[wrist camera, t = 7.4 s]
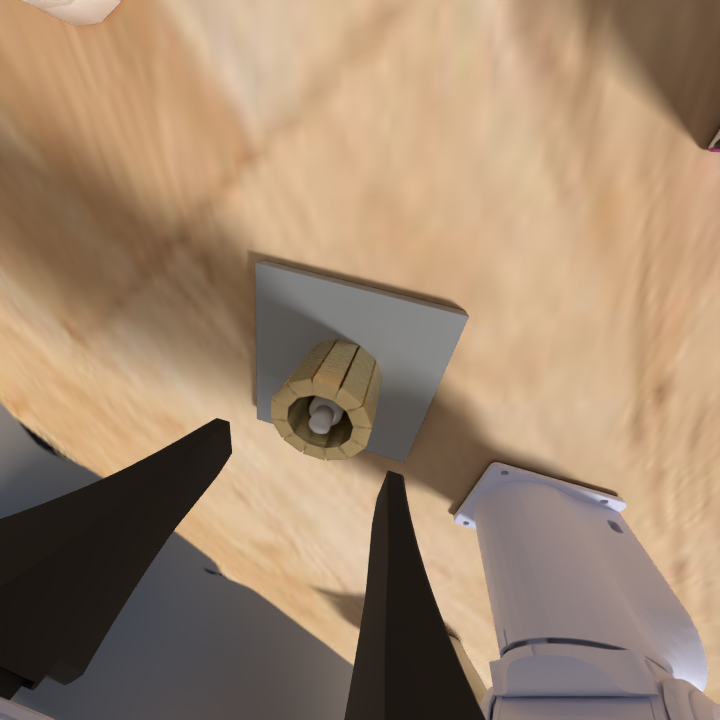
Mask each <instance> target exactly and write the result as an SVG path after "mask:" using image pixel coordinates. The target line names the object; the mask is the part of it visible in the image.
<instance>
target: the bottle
mask: <svg viewBox="0 0 720 720" xmlns="http://www.w3.org/2000/svg"><path fill="white" fill-rule="evenodd" d="M21 1H23V2H26V3H28V4H30V5H32V6H34V7H36V8H37V9H39V10H41V11H43V12H45V13H46V14H48V15H51V16H53V17H55V18H58V19H60V20H62V21H65V22H67V23H69V24H72V25H74V26H76V27H77V26H83V25H90V24H96V23H101V22H102V21H103V20H104V19H105V18H106V17H107V16H108V15H109V14H110V13H111V12H112V11H113V10H114V8H115V7H116V6H117V5H118V4H119V3H120V1H121V0H21Z"/></svg>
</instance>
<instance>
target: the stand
mask: <svg viewBox="0 0 720 720" xmlns="http://www.w3.org/2000/svg"><path fill="white" fill-rule="evenodd" d="M255 303H256V378H257V419H259V420H262V421H265V422H269V423H272V424H273V422H272V419H273V418H271V400H272V399H273V396H274V395H275V394H276V393H277V391H278V390H279V389H280V388H281V386H282V385H283V384H284V383H285V381H286V380H287V379H288V378H289V376H290V375H291V374H292V373H293V371H294V370H295V369H296V368H297V366H298V365H299V364H300V363H301V361H302V360H303V359H304V358H305V356H306V355H307V354H308V353H309V352H310V351H311V350H312V349H313V348H314V347H315V346H316V344H318V343H322V342H326V341H330V340H334V339H337V341H338V340H339V339H341V340H344V341H348V342H352V343H355V344H358V348H359V347H360V346H362V347H363V348H364V349H365V350H366V351H367V352H368V353H370V354H371V355H372V356H373V357H374V358H375V361H377V363H378V366H379V369H380V372H381V375H382V384H381V388H380V393H379V398H378V402H377V407H376V412H375V416H374V421H373V426H372V430H371V433H370V436H369V440H368V443H367V446H365V449H363V451H366V452H370V453H373V454H377V455H380V456H383V457H387V458H390V459H393V460H397V461H400V462H403V463H405V461H406V459H407V456H408V454H409V452H410V450H411V447H412V445H413V443H414V440H415V438H416V436H417V434H418V431H419V429H420V427H421V424H422V422H423V420H424V418H425V415H426V413H427V411H428V409H429V406H430V404H431V402H432V399H433V397H434V395H435V393H436V390H437V388H438V386H439V383H440V381H441V379H442V377H443V374H444V372H445V370H446V368H447V365H448V363H449V361H450V358H451V356H452V354H453V352H454V349H455V347H456V345H457V342H458V340H459V338H460V336H461V333H462V331H463V329H464V326H465V324H466V322H467V320H468V317H469V316H468V314H467V312H466V311H464V310H460V309H456V308H452V307H448V306H444V305H440V304H436V303H432V302H428V301H424V300H420V299H416V298H412V297H408V296H404V295H400V294H396V293H393V292H389V291H385V290H381V289H377V288H373V287H369V286H365V285H361V284H357V283H353V282H349V281H345V280H341V279H337V278H333V277H329V276H325V275H321V274H317V273H313V272H309V271H305V270H301V269H297V268H293V267H289V266H285V265H281V264H277V263H273V262H269V261H265V260H263V261H260V262H256V263H255ZM343 411H344V409H343V408H341V407H340V406H339V405H338V404H337V403H335V402H334V401H333V400H330V399H326V398H323V397H319V396H315V398H314V400H313V401H312V403H311V405H310V407H309V412H310V415H311V416H312V417H311V419H310V421H309V427H310V428H311V429H312V430H313V431H314V432H316V433H319V434H324V433H327V432H328V431H329V429H330V426H331V425H335V424H337V423H338V422H339V421H340V419H341V416H342V414H343Z"/></svg>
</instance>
